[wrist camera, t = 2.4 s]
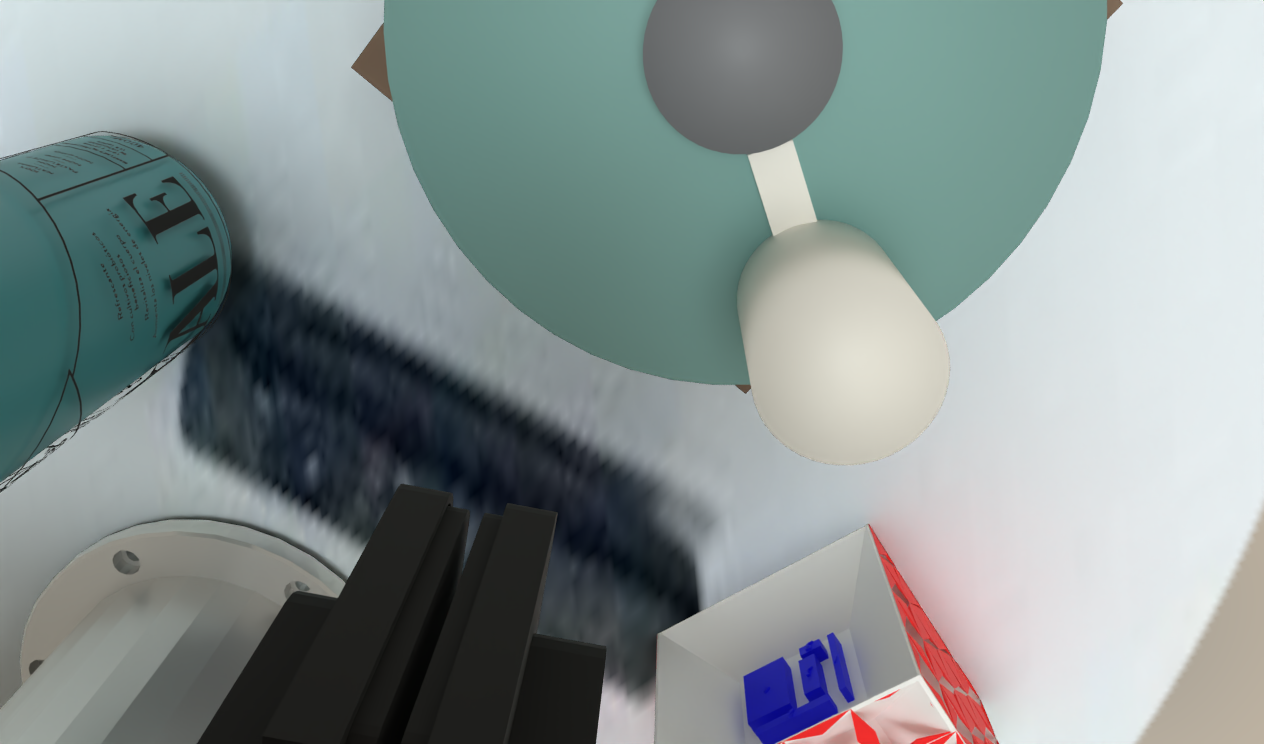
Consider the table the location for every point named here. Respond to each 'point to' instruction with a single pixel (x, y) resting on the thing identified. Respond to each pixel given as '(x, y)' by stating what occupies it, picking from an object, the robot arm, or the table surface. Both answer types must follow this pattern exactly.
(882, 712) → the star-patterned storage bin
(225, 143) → the table surface
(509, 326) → the table surface
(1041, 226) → the table surface
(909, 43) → the handwheel
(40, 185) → the beverage bottle
